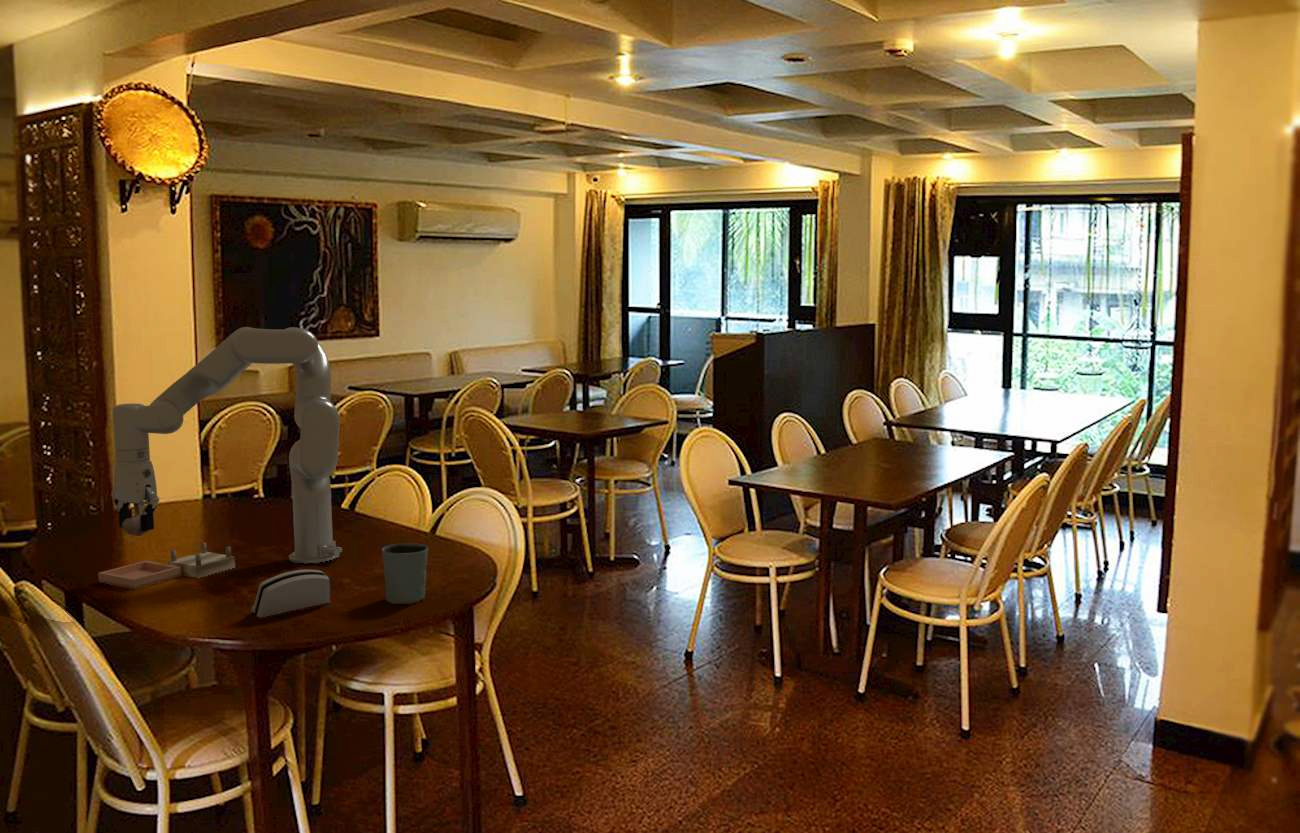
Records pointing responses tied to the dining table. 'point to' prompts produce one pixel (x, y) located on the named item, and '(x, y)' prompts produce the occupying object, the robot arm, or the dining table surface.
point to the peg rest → (203, 562)
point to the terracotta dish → (139, 574)
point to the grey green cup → (405, 572)
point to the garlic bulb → (133, 523)
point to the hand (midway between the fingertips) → (136, 527)
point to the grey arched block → (291, 592)
